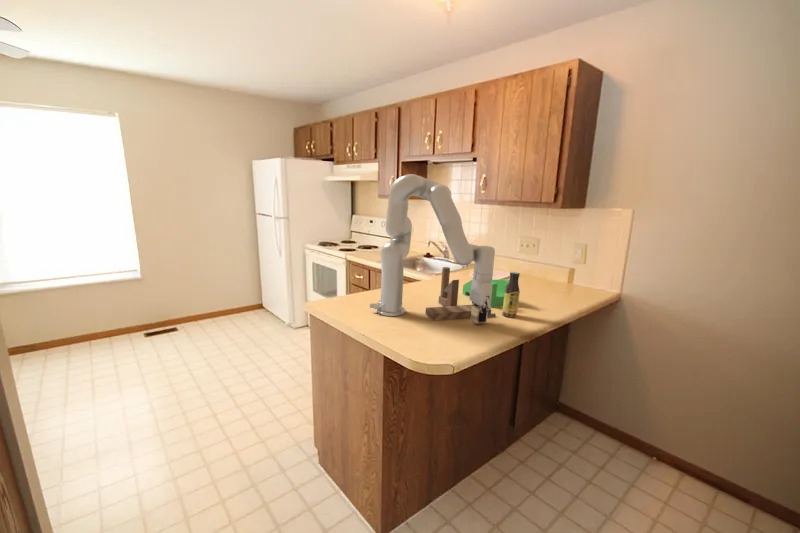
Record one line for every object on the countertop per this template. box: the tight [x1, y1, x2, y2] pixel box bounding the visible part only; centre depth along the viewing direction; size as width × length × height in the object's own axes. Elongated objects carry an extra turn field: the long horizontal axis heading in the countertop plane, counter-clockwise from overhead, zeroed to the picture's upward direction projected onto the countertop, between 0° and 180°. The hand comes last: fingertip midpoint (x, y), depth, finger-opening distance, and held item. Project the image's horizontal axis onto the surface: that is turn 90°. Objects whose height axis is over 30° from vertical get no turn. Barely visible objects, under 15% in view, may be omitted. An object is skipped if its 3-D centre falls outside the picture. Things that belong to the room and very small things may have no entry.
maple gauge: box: [470, 306, 496, 325], centre depth 147 cm, size 10×4×6 cm, turn 108°
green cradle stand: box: [462, 278, 510, 309], centre depth 181 cm, size 24×13×12 cm, turn 24°
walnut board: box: [424, 304, 492, 321], centre depth 156 cm, size 28×8×3 cm, turn 108°
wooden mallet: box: [438, 266, 460, 307], centre depth 167 cm, size 4×11×18 cm, turn 26°
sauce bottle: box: [501, 271, 521, 318], centre depth 157 cm, size 7×6×20 cm
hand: (478, 318), depth 147 cm, fingers closed on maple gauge, 4 cm apart
